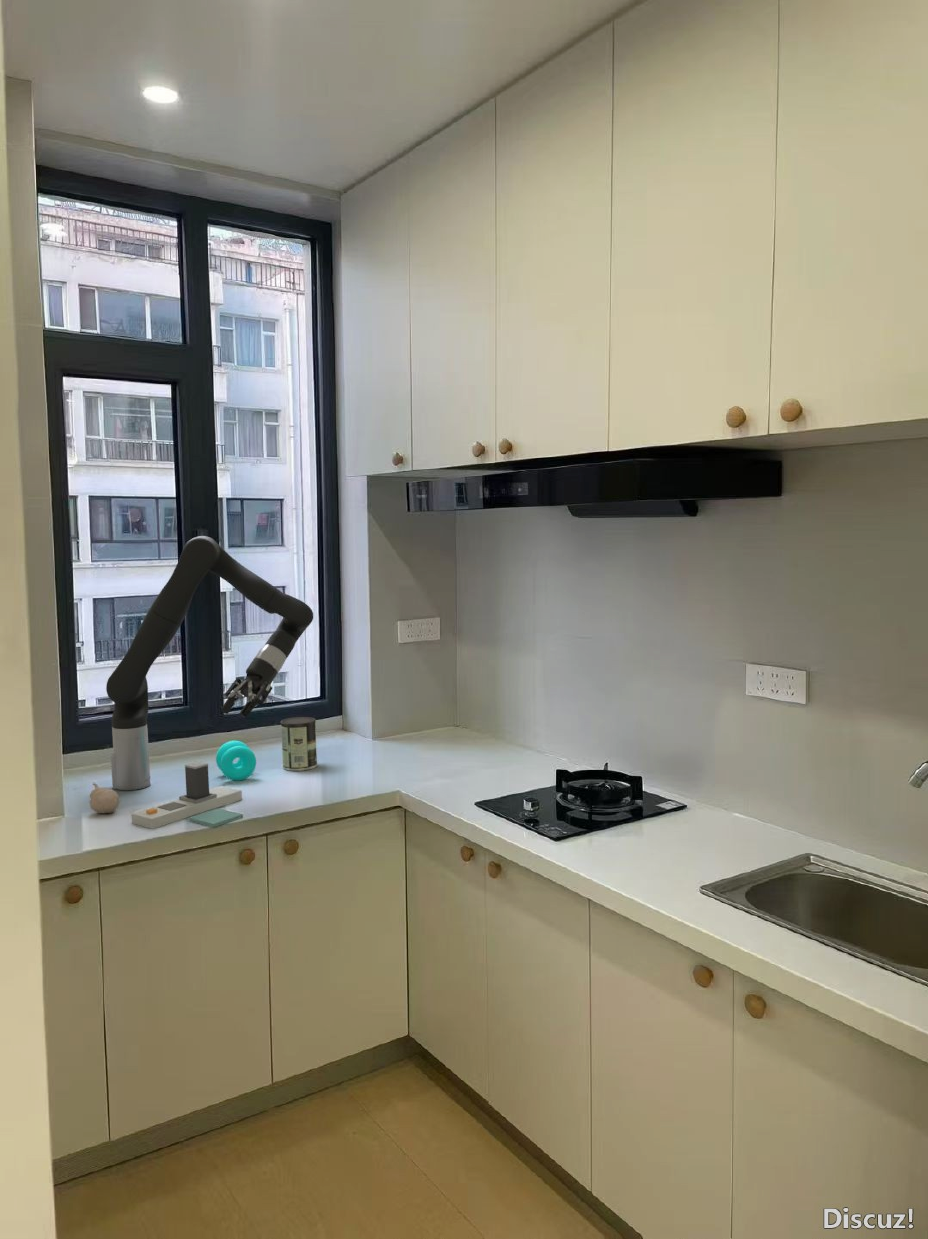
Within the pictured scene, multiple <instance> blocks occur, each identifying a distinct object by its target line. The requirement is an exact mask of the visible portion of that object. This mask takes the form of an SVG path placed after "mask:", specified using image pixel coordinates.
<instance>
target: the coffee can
mask: <svg viewBox="0 0 928 1239" xmlns="http://www.w3.org/2000/svg"><path fill="white" fill-rule="evenodd" d="M316 721H317V719H316V718H314V717H310V716H294V717H293V716H292V717H288V718H284V719H282V720H280V730H281V731H280V732H281V752H282V769H283V770H285V771H291V772H299V771H300V772H301V771H308V770H313V769H315V768H317V767H318V757H317V739H316V738H317V735H316V734H317V733H316Z"/></svg>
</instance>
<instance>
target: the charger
mask: <svg viewBox="0 0 928 1239" xmlns="http://www.w3.org/2000/svg"><path fill="white" fill-rule="evenodd" d="M184 771H185V772H184V773H185V775H184V776H185V791H186V794H187V798H191V799H195V800H197V799H200V798H204V797H207V796H209V790H210V780H209V763H207V762H202V761H194V762H190V763H188V764H184ZM186 794H185V795H186Z"/></svg>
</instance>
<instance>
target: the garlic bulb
mask: <svg viewBox="0 0 928 1239" xmlns="http://www.w3.org/2000/svg"><path fill="white" fill-rule="evenodd" d="M92 785H93V786H94V789H93V790H92V791H91V792H90V794H89V798H90V800H89V801H90V802H89V806H90V809H92V811H93V812H96V813H97V814H111V813H113V812H115V811H116V810H117V809H118V807H119V805H120V801H121V800H120V795H119V794H118V793H117V791H115V790H114V789H111V788H109V787H100V786H98V784H96V783H95V782H92Z"/></svg>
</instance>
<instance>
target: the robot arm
mask: <svg viewBox="0 0 928 1239" xmlns="http://www.w3.org/2000/svg"><path fill="white" fill-rule="evenodd" d="M208 572H210V573H212V574H214V575H216V576H218V577H219V578H221V579H223V580H224V581H226V583H229V585H231V587H233V588H234V589H236V591H238V592H239V593H240V594H241V595H242V596H243V597H244V598H246V599H247V600H249V601H250V602H251V603H253V604H254V605H256V606H257V607H258V608H260V609H262V610H263V611H264V612H266V613H267V614H270V615H272V614H273V615H274V614H277V615H279V617H282V619H281V621H280V622H279V624H278V625H277V627H276V629H275V631H274V632H273V633H272V634H271V635H270V637H268V640H267V641H266V643H265V644H264V645H263V646H262V647H261V648H260V649H259V650H258V652H257V654H256V655H255V657H254V658H253V659H252V661H251V662H250V664H249V665H248V666H247V668H246V670H245V673H246V674H245V675H246V677H245V678H244V679H241V678H239V677H236V678H235V680H233V681H232V683H231V685H230V686H229V687H228V689H227V690H226V692H225V693H224V696H225V697H226V698H227V699H226V700H225V702H224V704H223V705H222V707H221V708H220V710H221V711H222V713H223V714H225V715H228V714H229V713H230V711H231V710H232V709H233V707H234V706H235V704H236V703H237V702H238V701H239V700H243V699H244V698H248V701H247V702H246V703H245V704H244V706H243V707H242V709H241V710H240V712H239V714H240V715H241V717H243V718H246V719H247V718H248V716H249V715H250V714H251V713H252V711H253V710H254V708H255V707H257V706H263V705H264V703H265V702H266V700H267V698H268V696H269V695H270V693H271V692H272V690H273V687H272V685H271V684H272V683H273V681H274V680H275V678H276V677H277V675H278V674H279V672H280V671H281V670H282V668H283V666H284V664H285V663H286V660H287V658H288V657H289V656H290V655H291V652H292V651H293V649H294V648H295V646H296V643H297V641H298V640H299V639H300V638H301V636H302V635H303V633H304V632H305V631H306V629H307V628H308V627H309V626H310V625H311V624H312V622H313V620H314V612H313V610H312V609H311V607H310V606H309V605H308V604H307V603H306V602H304V601H303V600H300V599H299V598H297V597H294V596H292V595H290V594H286V593H284V592H282V591H281V590H280V589H278V588H277V587H276V586H274V585H272V584H271V583H269V582H268V581H267V580H265V579H263V578H262V577H260V576H259V575H258V574H256V573H254V572H253V571H251V570H250V569H248V568H247V567H245V566H244V565H242V564H241V563H240V562H238V561H237V560H236V559H234V557H232V556H231V554H229V553H228V552H227V551H226V550H224V549H223V547H222V546H221V545H220V544H218V542H217V541H216V540H214V538H213V537H209V536H207V535H199V536H196V537H193V538H190V540H188V541H187V542H186V543H185V545H184V546H183V549H182V551H181V554H180V556H179V558H178V562H177V564H176V566H175V567H174V570H173V572H172V573H171V576H170V577H169V579H168V581H167V582H166V583H165V585H164V586H163V587H162V589H161V590H160V592H159V594H158V595H157V597H156V598H155V599H154V601H153V602H152V604H151V606H150V608H148V610H147V613H146V615H145V616H144V618H143V620H142V623H141V624H140V626H139V628H138V630H137V631H136V634H135V636H134V638H133V640H132V642H131V644H130V646H129V649H128V651H127V652H126V653H125V655H124V657H123V658H122V659H121V661H120V662H119V663H118V665H117V666H116V668H115V669H114V670H113V671H112V673H111V674H110V676H109V678H108V679H107V681H106V686H105V687H106V688H105V689H106V695H107V697H108V698H109V699H110V700H111V701H112V702H113V703H114V708H113V712H112V713H113V714H112V717H111V730H112V731H111V734H112V748H113V749H112V750H113V753H111V755H110V764H111V768H110V769H111V780H112V781H111V782H112V790H119V791H135V790H141V789H145V788H148V787H149V786H150V785H151V770H150V769H151V768H150V750H149V734H148V732H149V730H148V715H149V686H148V679H147V675H148V672H149V670H150V669H151V667H152V665H153V664H154V662H155V661H156V660H157V659H158V658H159V656H160V655H161V654H162V652H164V650H165V649H166V648H167V646H168V645H169V644H170V643H171V641H172V640H173V638H174V637H175V635H176V634H177V632H178V630H179V629H180V627H181V625H182V623H183V621H184V619H185V617H186V615H187V613H188V611H189V608H190V605H191V604H192V603H191V602H192V599H193V596H194V594H195V592H196V589H197V588H198V586H199V585H200V583H201V582H202V580H203V579H204V578H205V576H206V575H207V574H208Z"/></svg>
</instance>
